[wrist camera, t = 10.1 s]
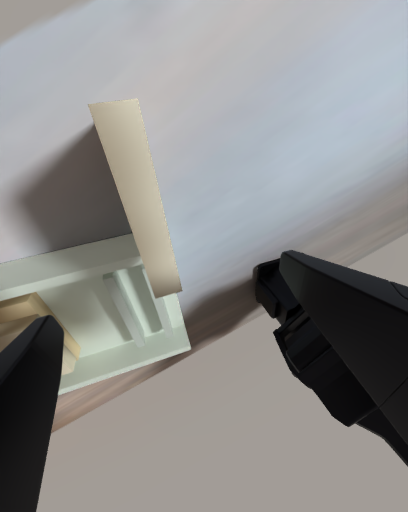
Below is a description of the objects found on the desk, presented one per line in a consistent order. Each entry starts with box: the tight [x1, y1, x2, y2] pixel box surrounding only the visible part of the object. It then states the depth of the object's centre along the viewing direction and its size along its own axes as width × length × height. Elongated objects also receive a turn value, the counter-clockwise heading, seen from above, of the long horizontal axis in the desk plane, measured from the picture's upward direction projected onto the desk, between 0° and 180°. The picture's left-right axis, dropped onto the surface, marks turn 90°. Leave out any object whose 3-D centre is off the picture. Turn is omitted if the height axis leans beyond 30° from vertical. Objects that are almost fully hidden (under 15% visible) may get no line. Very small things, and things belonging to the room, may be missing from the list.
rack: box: [0, 233, 191, 395], centre depth 20 cm, size 18×14×4 cm
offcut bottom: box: [0, 292, 81, 361], centre depth 19 cm, size 6×9×2 cm, turn 7°
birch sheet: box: [88, 99, 182, 299], centre depth 12 cm, size 1×8×10 cm, turn 6°
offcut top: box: [0, 314, 76, 376], centre depth 19 cm, size 5×7×2 cm
